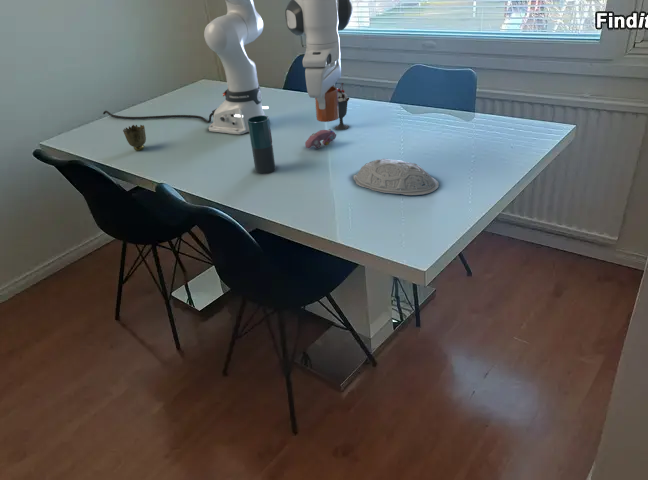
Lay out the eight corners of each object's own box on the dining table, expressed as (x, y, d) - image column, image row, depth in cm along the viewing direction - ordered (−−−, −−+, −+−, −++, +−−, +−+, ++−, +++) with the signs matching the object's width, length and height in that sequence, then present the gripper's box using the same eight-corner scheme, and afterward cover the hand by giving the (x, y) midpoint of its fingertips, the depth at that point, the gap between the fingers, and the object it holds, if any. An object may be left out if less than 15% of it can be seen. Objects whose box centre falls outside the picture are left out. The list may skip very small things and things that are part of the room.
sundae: (351, 123, 197) (349, 81, 188) (350, 130, 191) (348, 86, 183) (332, 124, 198) (329, 82, 189) (331, 131, 192) (328, 88, 184)
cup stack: (252, 173, 168) (244, 122, 159) (260, 165, 173) (252, 115, 164) (271, 174, 166) (264, 122, 157) (278, 165, 171) (271, 115, 162)
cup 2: (153, 145, 198) (148, 124, 194) (142, 153, 192) (136, 131, 188) (136, 145, 200) (130, 124, 196) (125, 153, 195) (118, 131, 190)
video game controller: (309, 155, 180) (312, 139, 174) (303, 145, 182) (306, 130, 176) (335, 147, 183) (339, 132, 177) (329, 138, 185) (332, 122, 179)
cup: (313, 121, 154) (311, 93, 150) (320, 114, 159) (318, 86, 155) (335, 122, 152) (333, 93, 148) (341, 114, 157) (339, 86, 153)
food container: (422, 199, 141) (422, 174, 138) (342, 186, 156) (341, 163, 153) (448, 182, 152) (449, 158, 149) (371, 171, 166) (370, 149, 163)
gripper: (323, 43, 155) (326, 92, 162) (300, 62, 139) (304, 115, 147) (345, 43, 153) (347, 92, 160) (323, 62, 137) (327, 116, 145)
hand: (326, 104), depth 154 cm, fingers closed on cup, 6 cm apart
